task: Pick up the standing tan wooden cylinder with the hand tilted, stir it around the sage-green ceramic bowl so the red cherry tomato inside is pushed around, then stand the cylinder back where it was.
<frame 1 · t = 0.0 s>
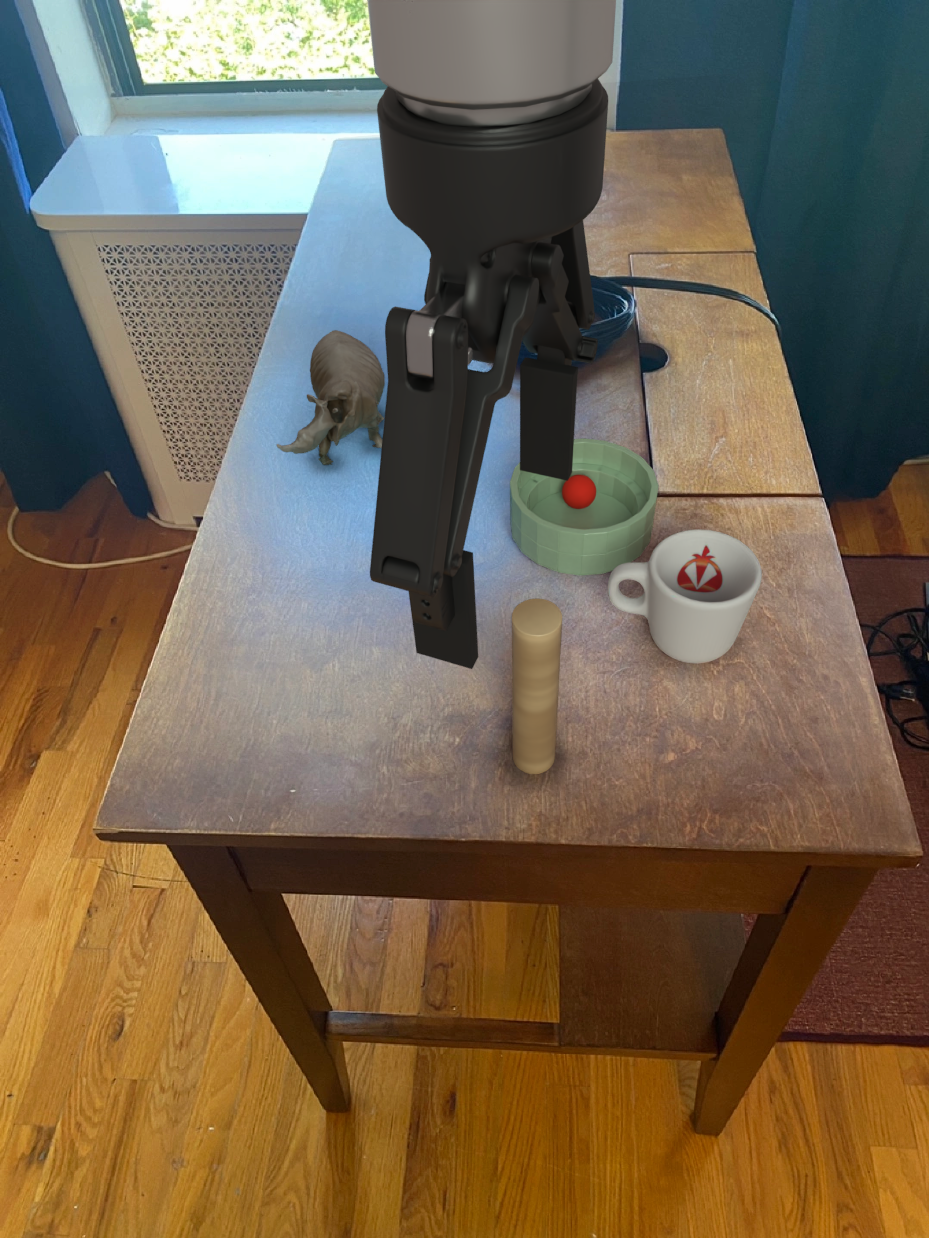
hand: (501, 555, 45), 24 cm above the table, tool pointing down, fingers open, 13 cm apart
planter: (465, 211, 123), on the table
grey animal figure: (346, 444, 91), on the table
bowl: (580, 532, 80), on the table
cherry tomato: (579, 491, 81), point 2 cm above the table, touching bowl
tan wooden cylinder: (533, 756, 65), on the table
cup: (671, 636, 72), on the table
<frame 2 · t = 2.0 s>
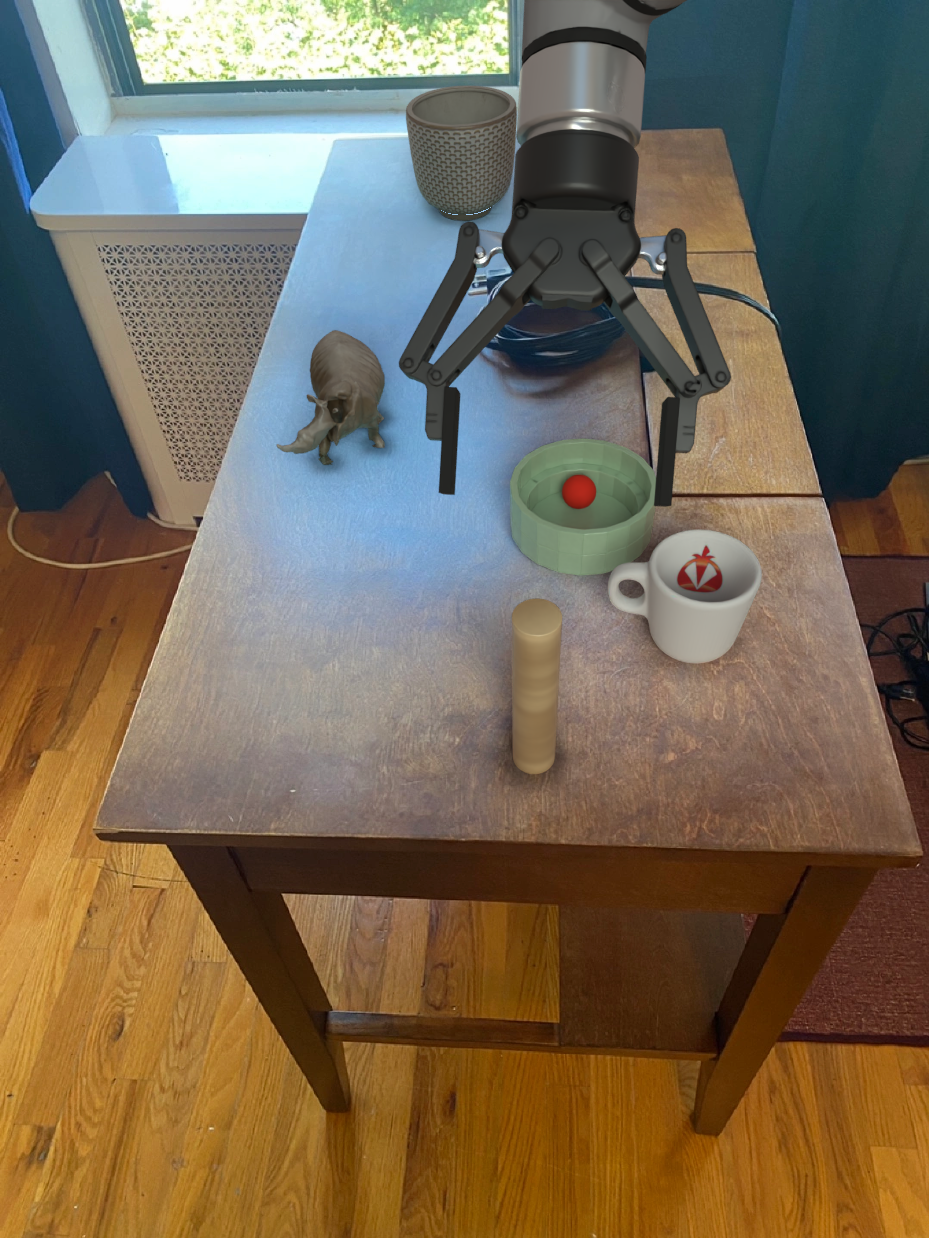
hand: (553, 500, 58), 17 cm above the table, tool tilted 45°, fingers open, 13 cm apart
nothing on the table moved.
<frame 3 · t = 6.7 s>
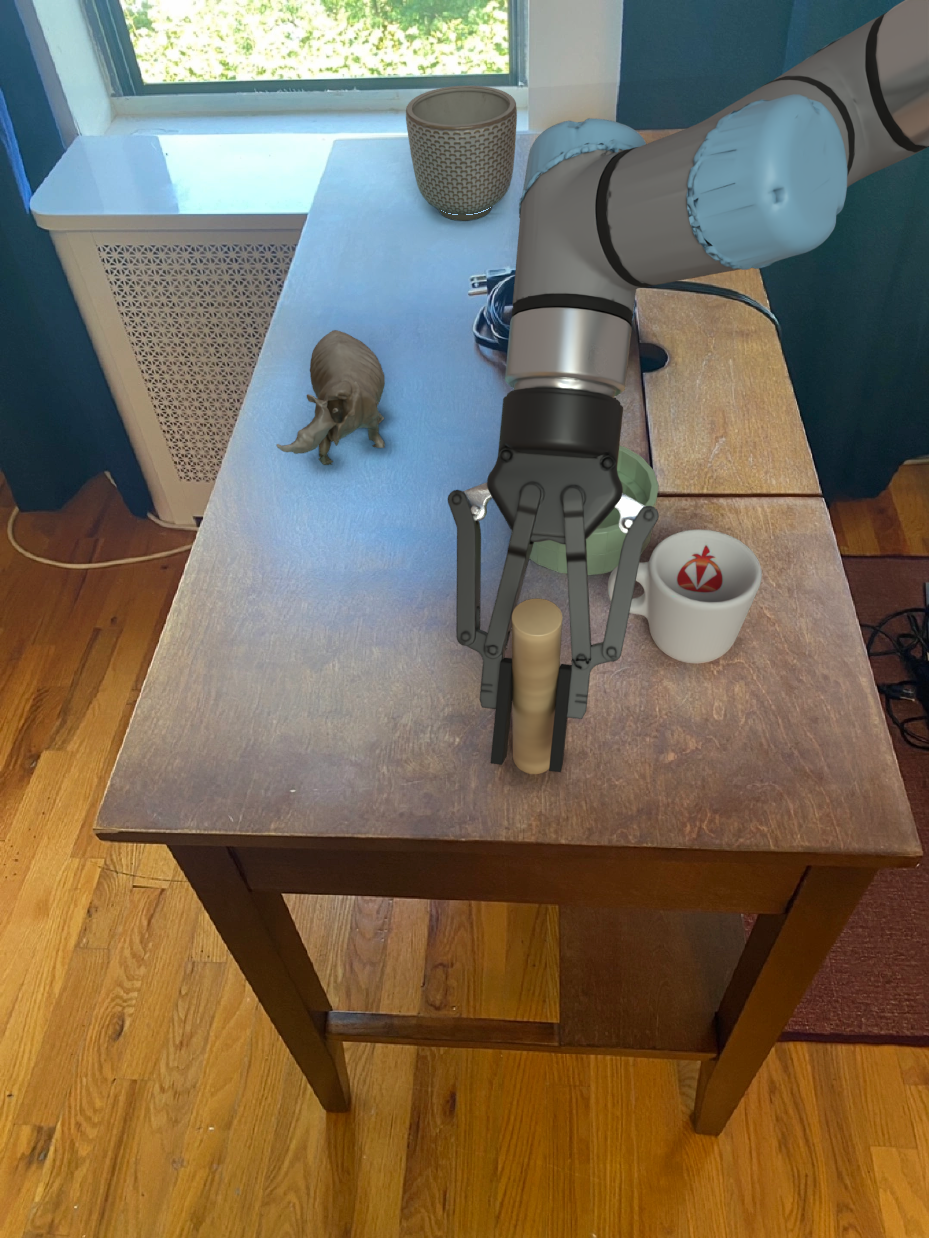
hand: (527, 762, 59), 5 cm above the table, tool tilted 45°, fingers closed on tan wooden cylinder, 3 cm apart
tan wooden cylinder: (533, 756, 65), on the table, touching gripper
everything else where it was.
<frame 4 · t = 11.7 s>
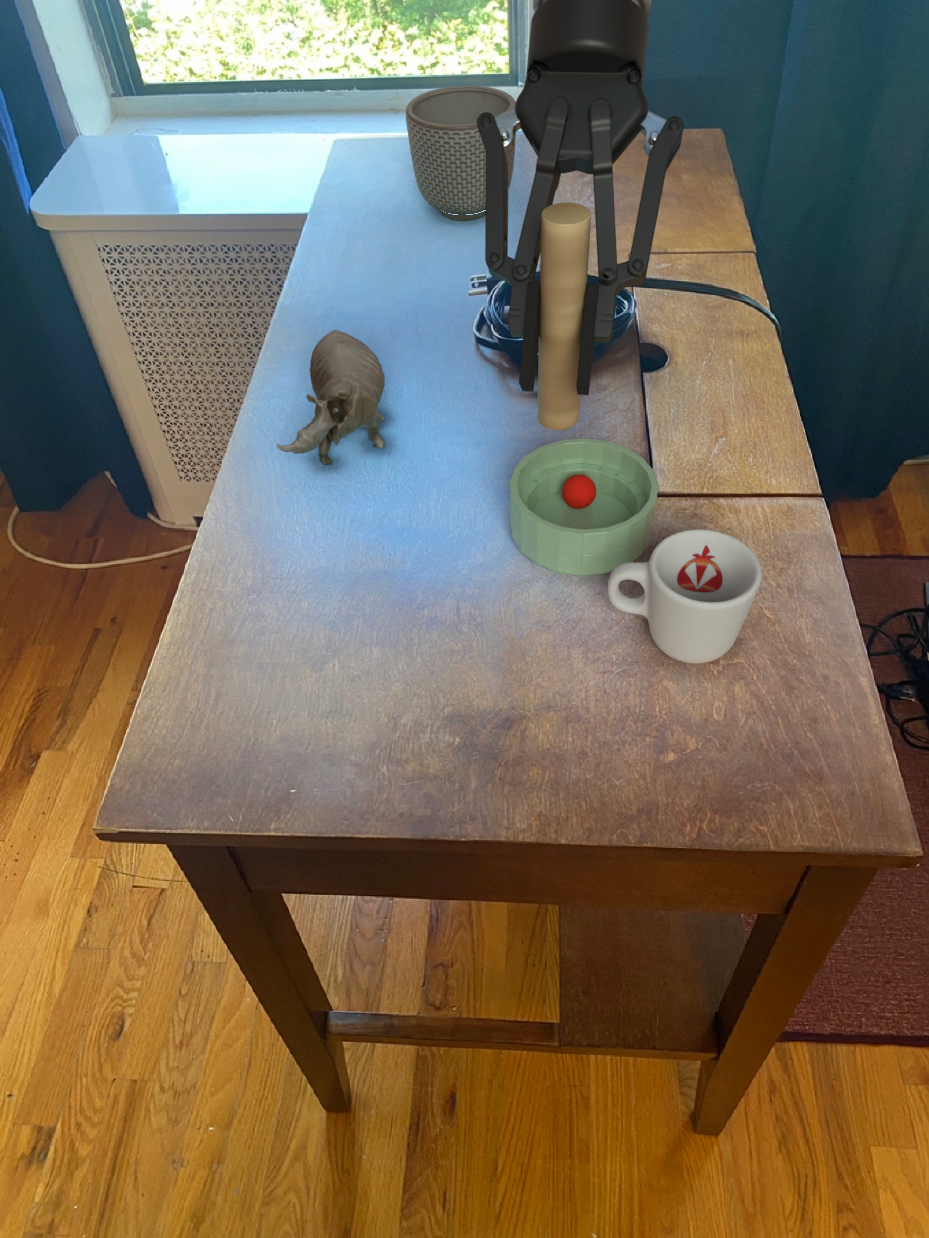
hand: (554, 388, 60), 20 cm above the table, tool tilted 45°, fingers closed on tan wooden cylinder, 3 cm apart
tan wooden cylinder: (557, 418, 67), point 15 cm above the table, touching gripper
everything else where it was.
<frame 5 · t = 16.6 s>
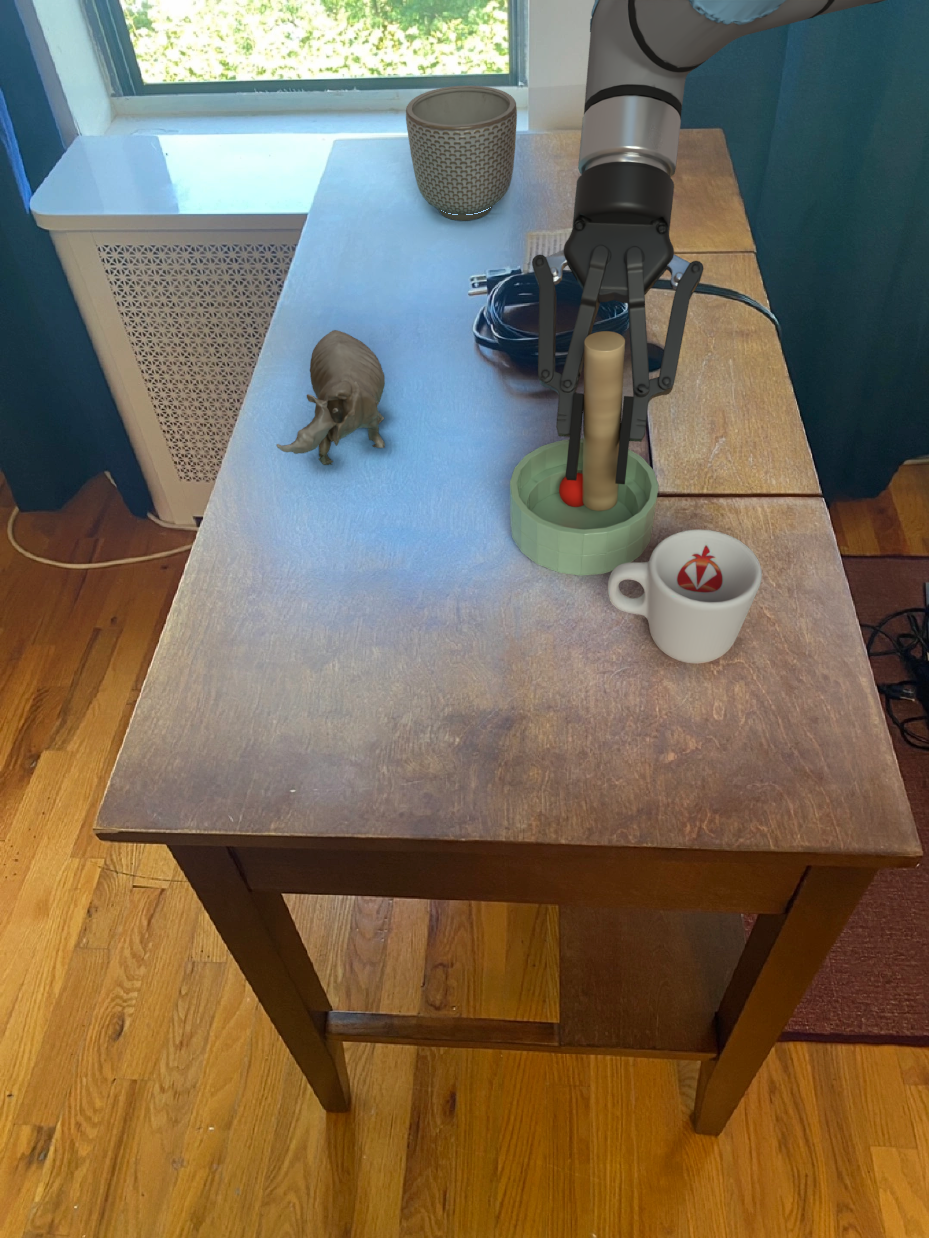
hand: (595, 479, 73), 8 cm above the table, tool tilted 45°, fingers closed on tan wooden cylinder, 3 cm apart
cherry tomato: (576, 490, 81), point 2 cm above the table, tilted 14°, touching bowl, tan wooden cylinder
tan wooden cylinder: (599, 500, 79), point 3 cm above the table, touching cherry tomato, gripper
everything else where it was.
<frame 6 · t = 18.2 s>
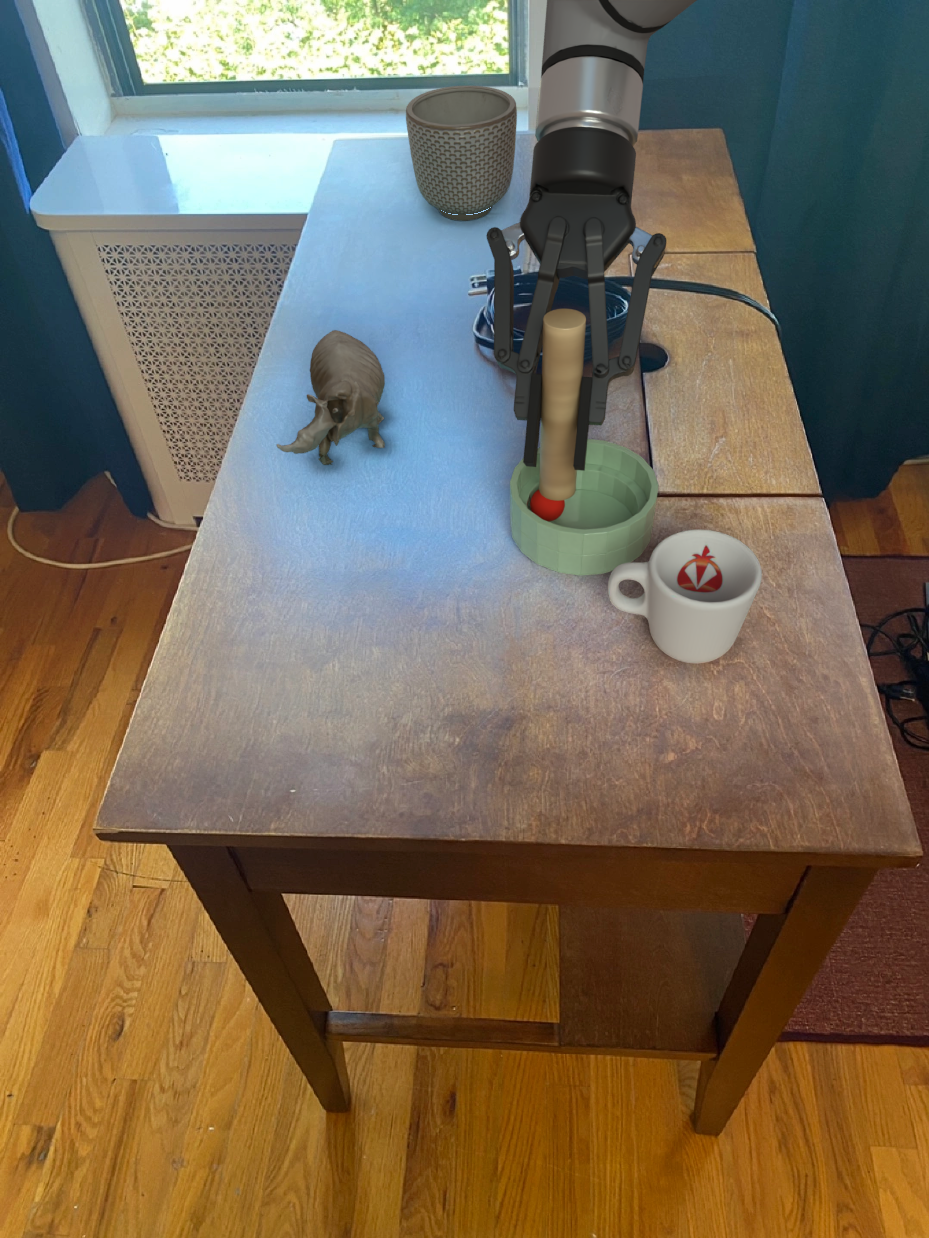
hand: (554, 465, 69), 11 cm above the table, tool tilted 45°, fingers closed on tan wooden cylinder, 3 cm apart
cherry tomato: (547, 504, 80), point 2 cm above the table, tilted 99°, touching bowl
tan wooden cylinder: (557, 489, 75), point 6 cm above the table, touching gripper
everything else where it was.
when the fingers open (5 cm above the table, at t = 26.5 s): tan wooden cylinder stays where it is, on the table.
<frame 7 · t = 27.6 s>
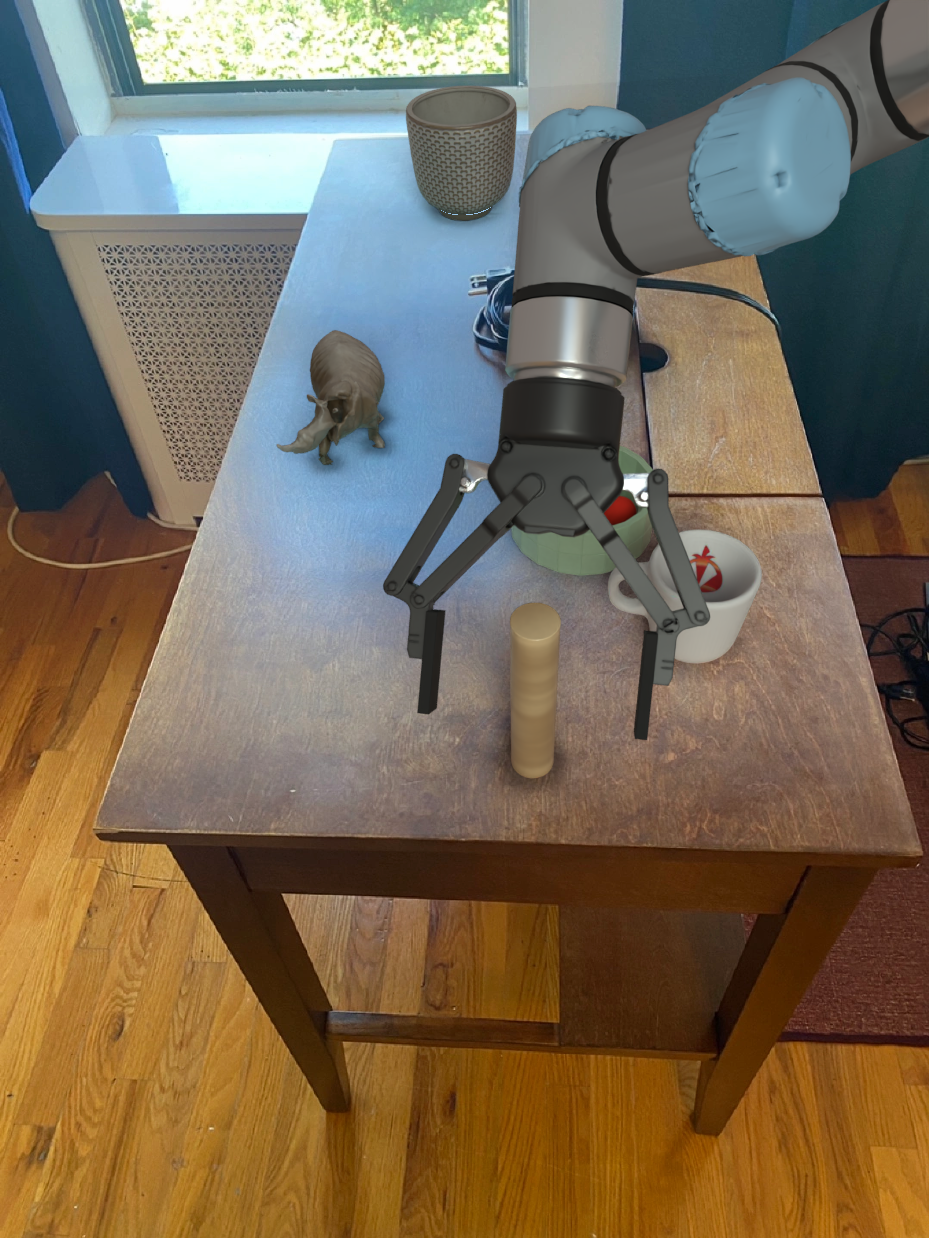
hand: (531, 723, 58), 7 cm above the table, tool tilted 45°, fingers open, 13 cm apart
cherry tomato: (618, 513, 78), point 2 cm above the table, tilted 133°, touching bowl
tan wooden cylinder: (532, 760, 65), on the table
everything else where it was.
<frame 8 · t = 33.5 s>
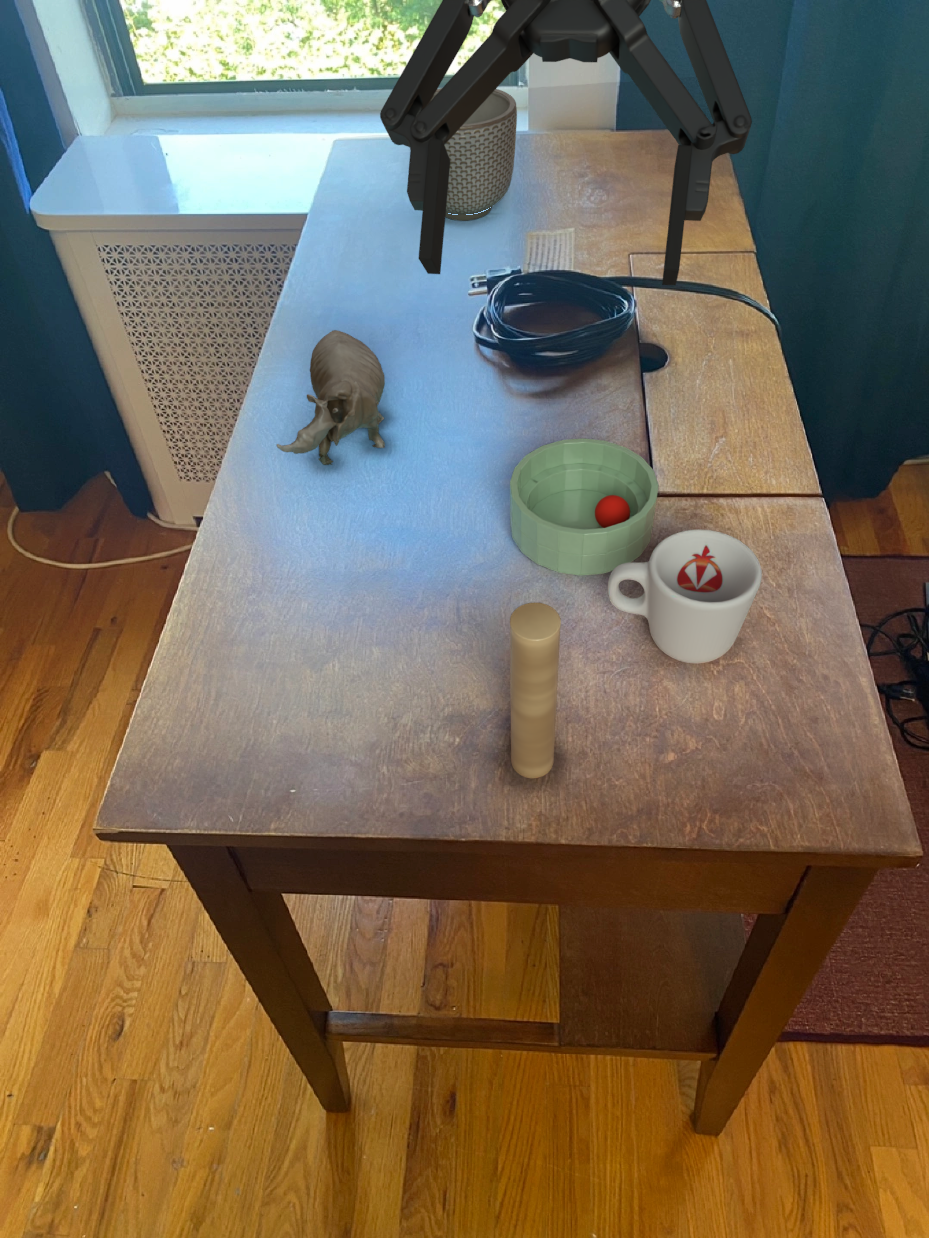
hand: (547, 273, 52), 30 cm above the table, tool tilted 45°, fingers open, 13 cm apart
cherry tomato: (612, 512, 79), point 2 cm above the table, tilted 114°, touching bowl
everything else where it was.
at the end: cherry tomato moved 3.9 cm from its start; tan wooden cylinder inside the target area (0.4 cm from its centre), on the table; tan wooden cylinder tilted 0° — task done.
